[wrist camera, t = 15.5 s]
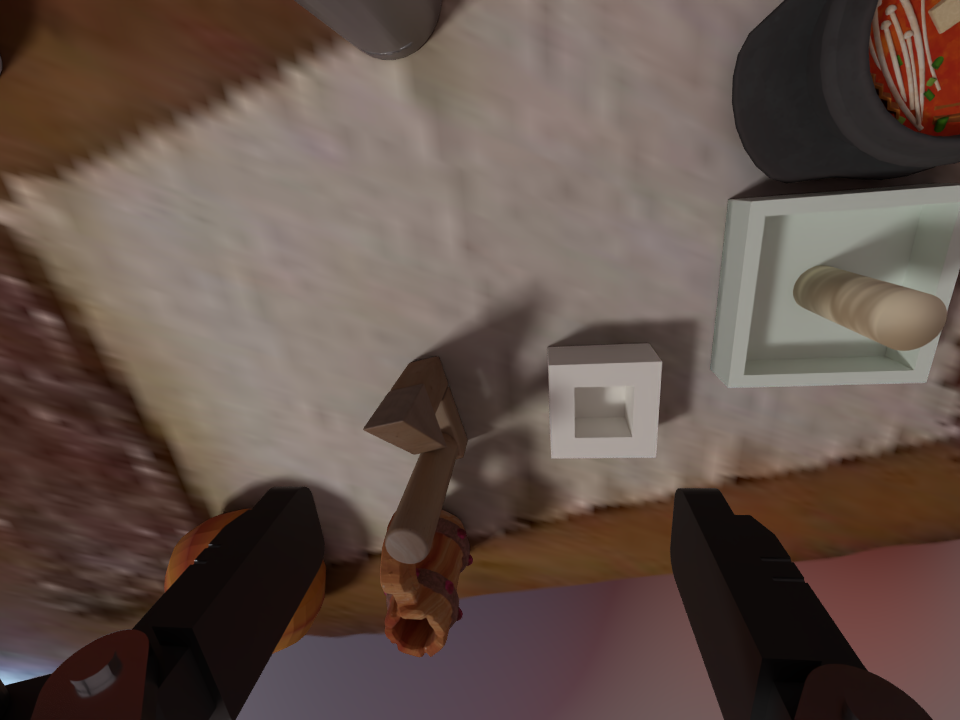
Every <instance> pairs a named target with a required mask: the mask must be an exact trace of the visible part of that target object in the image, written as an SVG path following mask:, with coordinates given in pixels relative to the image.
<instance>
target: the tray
mask: <svg viewBox="0 0 960 720" xmlns="http://www.w3.org/2000/svg"><path fill="white" fill-rule="evenodd" d="M820 265H826V266H831V267H835V268H838V269H842V270H845V271H849V272H853V273H856V274H860V275H863V276H867V277H871V278H874V279H878V280H881V281H885V282H889V283H892V284H896V285H899V286H903V287H907V288H910V289H914V290H917V291H921V292H925V293H928V294H932V295H934V296H936V297H938V298H939V299H941V300H942V301H943V303H944V304H945V306H946V309H947V310H948V307H949V304H950V300H951V297H952V293H953V290H954V287H955V283H956V280H957V276H958V273H959V270H960V183H931V184H918V185H905V186H893V187H880V188H867V189H855V190H842V191H829V192H817V193H804V194H791V195H778V196H766V197H753V198H740V199H728V207H727V216H726V225H725V235H724V244H723V253H722V263H721V272H720V282H719V291H718V300H717V310H716V319H715V329H714V338H713V347H712V357H711V366H710V369H711V370H712V371H713V373H714V374H715V375H716V376H717V377H718V378H719V379H720V380H721V381H722V382H723V383H724V384H725V385H726V386H727V387H728V388H746V387H784V386H822V385H859V384H897V383H926V382H927V378H928V375H929V372H930V368H931V365H932V361H933V358H934V355H935V351H936V348H937V344H938V341H939V338H940V334H941V332H940V333H939V335H938V336H937V337H936V338H935V339H933V340H932V341H931V342H929V343H928V344H926V345H924V346H922V347H920V348H917V349H914V350H909V351H899V350H894V349H891V348H889V347H887V346H884V345H882V344H880V343H878V342H876V341H874V340H871V339H869V338H867V337H865V336H863V335H861V334H859V333H856V332H854V331H852V330H850V329H848V328H846V327H843V326H841V325H839V324H837V323H835V322H833V321H830V320H828V319H826V318H824V317H822V316H820V315H817V314H815V313H813V312H811V311H809V310H807V309H804V308H802V307H801V306H799V305H798V304H797V303H796V301H795V299H794V296H793V288H794V285H795V283H796V281H797V279H798V278H799V277H800V275H801V274H803V273H804V272H805V271H807V270H808V269H810V268H812V267H815V266H820Z"/></svg>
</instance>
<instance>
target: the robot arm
mask: <svg viewBox="0 0 960 720" xmlns="http://www.w3.org/2000/svg"><path fill="white" fill-rule="evenodd" d="M294 1H296V2H297V3H298V4H300V5H301V6H302V7H304V8H305V9H306V10H308V11H309V12H310V13H312V14H313V15H314V16H316V17H317V18H318V19H320V20H321V21H322V22H324V23H325V24H326V25H328V26H329V27H330V28H332V29H333V30H334V31H336V32H337V33H338V34H339V35H341V36H342V37H343V38H345V39H346V40H347V41H349V42H350V43H351V44H353V45H354V46H355V47H357V48H358V49H359V50H361V51H362V52H364V53H366V54H368V55H370V56H371V57H374V58H378V59H382V60H396V59H400V58H404V57H406V56H408V55H410V54H412V53H414V52H416V51H417V50H418V49H419V48H420V47H421V46H422V45H423V44H424V43H425V42H426V41H427V39H428V38H429V37H430V35H431V34H432V32H433V30H434V28H435V25H436V23H437V21H438V17H439V13H440V9H441V2H442V0H294ZM208 545H209V546H208V548H205V549H204V550H203V551H202V552H201V553H200V554H199V555H198V557H197V558H196V559H195V560H194V564H193V565H192V564H190V565H189V567H188V568H187V569H186V570H185V571H184V572H183V573H182V574H181V575H180V577H179V578H178V579H177V580H176V581H175V582H174V583H173V584H172V585H171V587H170V588H169V589H168V590H167V591H166V592H165V593H164V594H163V595H162V597H161V598H160V599H159V600H158V601H157V602H156V603H155V604H154V605H153V607H152V608H151V609H150V610H149V611H148V612H147V613H146V614H145V615H144V617H143V618H142V619H141V620H140V621H139V622H138V623H137V624H136V625H135V627H134V628H133V629H127V630H120V631H117V632H113V633H110V634H107V635H105V636H102V637H100V638H98V639H96V640H94V641H92V642H91V643H89V644H87V645H85V646H84V647H82V648H81V649H79V650H78V651H76V652H75V653H74V654H73V655H71V656H70V657H69V658H67V659H66V660H65V661H64V662H63V663H62V664H61V665H60V666H59V667H58V668H57V669H56V670H55V671H54V672H53V673H52V674H49V675H45V676H41V677H37V678H33V679H29V680H25V681H21V682H17V683H13V684H9V685H5V686H4V684H3V683H2V681H1V680H0V720H236V718H237V716H238V714H239V713H240V711H241V709H242V707H243V705H244V704H245V702H246V700H247V698H248V696H249V695H250V693H251V691H252V689H253V688H254V686H255V684H256V682H257V680H258V679H259V677H260V675H261V673H262V671H263V670H264V668H265V666H266V664H267V662H268V661H269V659H270V657H271V655H272V653H273V652H274V650H275V648H276V646H277V644H278V643H279V641H280V639H281V637H282V635H283V634H284V632H285V630H286V628H287V626H288V625H289V623H290V621H291V619H292V617H293V616H294V614H295V612H296V610H297V608H298V607H299V605H300V603H301V601H302V599H303V598H304V596H305V594H306V592H307V590H308V589H309V587H310V585H311V583H312V581H313V580H314V578H315V576H316V574H317V572H318V571H319V569H320V566H321V564H322V561H323V556H324V538H323V534H322V530H321V526H320V522H319V518H318V515H317V511H316V507H315V503H314V499H313V496H312V493H311V491H310V489H309V488H307V487H273V488H271V489H270V490H269V491H268V492H267V493H266V494H265V495H264V496H263V497H262V498H261V500H260V501H259V502H258V503H257V504H256V505H255V507H254V508H253V509H252V510H247V511H246V512H244V513H243V514H241V515H240V516H238V517H237V518H235V519H234V520H233V521H231V522H230V523H228V524H227V525H225V527H224V528H223V529H222V530H221V531H220V532H219V533H218V534H217V535H216V537H215V538H214V539H213V540H212V541H211V542H210V543H209V544H208ZM670 554H671V564H672V570H673V574H674V578H675V581H676V584H677V587H678V590H679V592H680V596H681V598H682V601H683V604H684V607H685V610H686V613H687V615H688V618H689V621H690V624H691V627H692V630H693V633H694V635H695V638H696V641H697V644H698V647H699V650H700V652H701V655H702V658H703V661H704V664H705V667H706V669H707V672H708V675H709V678H710V681H711V684H712V687H713V689H714V692H715V695H716V698H717V701H718V703H719V707H720V709H721V712H722V715H723V718H724V720H933V719H932V718H931V717H930V716H929V715H928V713H927V712H926V711H925V710H924V709H923V708H922V707H921V706H920V705H919V704H918V703H917V702H916V701H915V700H914V699H912V698H911V697H910V696H908V695H907V694H906V693H905V692H904V691H902V690H901V689H899V688H898V687H896V686H895V685H893V684H892V683H890V682H889V681H887V680H885V679H883V678H881V677H880V676H878V675H875V674H873V673H871V672H869V671H868V670H867V669H866V668H865V666H864V665H863V664H862V662H861V661H860V659H859V658H858V657H857V655H856V654H855V652H854V651H853V649H852V648H851V646H850V645H849V643H848V642H847V640H846V639H845V638H844V636H843V634H842V633H841V632H840V630H839V629H838V627H837V626H836V624H835V623H834V621H833V620H832V618H831V617H830V615H829V614H828V612H827V611H826V609H825V608H824V606H823V605H822V604H821V602H820V600H819V599H818V598H817V596H816V595H815V593H814V592H813V590H812V589H811V587H810V586H809V584H808V583H805V581H804V577H803V576H802V574H801V573H800V571H799V570H798V568H797V567H796V565H795V564H794V562H791V560H790V556H789V555H788V553H787V552H786V550H785V549H784V547H783V546H782V545H781V543H780V542H779V540H778V539H777V537H776V536H775V534H773V533H772V532H771V531H770V530H768V529H767V528H766V527H764V526H763V525H762V524H761V523H759V522H758V521H757V520H756V519H754V518H753V517H752V516H751V515H734V513H733V512H732V510H731V508H730V507H729V505H728V503H727V502H726V500H725V498H724V497H723V495H722V493H721V492H720V491H719V490H718V489H715V488H678V489H677V490H676V493H675V499H674V511H673V522H672V534H671V546H670Z"/></svg>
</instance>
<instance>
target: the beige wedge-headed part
mask: <svg viewBox="0 0 960 720" xmlns="http://www.w3.org/2000/svg"><path fill="white" fill-rule="evenodd" d="M447 386H448V381H447V378H446V376H445V373H444V370H443V367H442V364H441V361H440V358H439V357H436V356H435V357H431V358H427V359H423V360H419V361H415V362H411V363H409V364H408V366H407V367H406V368H405V370H404V371H403V373H402V374H401V376H400V377H399V378H398V380H397V381H396V383H395V384H394V386H393V387H392V389H391V391H390V392H388V394H387V395H386V397H385V398H384V400H383V401H382V402H381V404H380V405H379V407H378V408H377V410H376V411H375V412H374V414H373V415H372V417H371V418H370V420H369V421H368V423H367V424H366V425H365V427H364V428H363V430H364V431H366V432H368V433H371V434H373V435H375V436H377V437H379V438H381V439H383V440H385V441H387V442H389V443H391V444H393V445H395V446H397V447H399V448H402V449H404V450H406V451H408V452H410V453H412V454H419V453H421V454H420V456H419V458H418V461H417V463H416V466H415V468H414V470H413V473H412V475H411V477H410V480H409V482H408V485H407V487H406V489H405V492H404V494H403V496H402V499H401V501H400V503H399V506H398V508H397V511H396V513H395V515H394V518H393V520H392V522H391V525H390V527H389V530H388V532H387V534H386V537H385V546H386V550H387V552H388V553H389V555H390V556H391V557H393V558H394V559H395V560H397V561H399V562H402V563H406V564H415V563H418V562H421V561H422V560H423V559H425V558H426V557H427V555H428V554H429V552H430V548H431V545H432V541H433V538H434V534H435V531H436V527H437V524H438V520H439V517H440V513H441V510H442V506H443V503H444V499H445V496H446V492H447V489H448V485H449V482H450V478H451V475H452V471H453V468H454V464H455V461H456V459H459V458H463V457H464V453H465V449H466V445H467V442H468V440H467V437H466V434H465V431H464V428H463V425H462V422H461V419H460V416H459V413H458V411H457V408H456V405H455V402H454V399H453V396H452V393H451V390H450V388H449V387H447Z"/></svg>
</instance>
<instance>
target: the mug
mask: <svg viewBox="0 0 960 720" xmlns="http://www.w3.org/2000/svg"><path fill="white" fill-rule="evenodd" d="M395 513H396V512H395ZM395 513H394V514H393V516H392V518H391V520H390V522H389V525H388V527H387V532H388V530H389V527H390V525H391V522H392V520H393V518H394V515H395ZM386 534H387V533H386ZM385 537H386V536H385ZM472 562H473V558H472V556H471V555H470V544H469V540H468V538H467V535H466V531H465V529H464V527H463V524H462V522H461V521H460V520H459V519H458V518H457V517H456V516H454V515H452V514H450V513H449V512H446V511H444V510H441V513H440V517H439V520H438V524H437V527H436V531H435V534H434V538H433V541H432V545H431V548H430V552H429V554H428V555H427V557H426V558H425V559H423V560H422V561H421V562H418V563H415V564H406V563H402V562H399V561H397V560H395V559H394V558H393V557H391V556H390V555H389V553H388V552H387V550H386V546H385V539H384V543H383V547H382V556H381V567H380V579H381V586H382V588H383V591H384V594H385V595H386V596H387V608H388V612H387V615H386V618H385V625H386V627H385V634H386V636H387V637H388V639H390V640H391V642H392V643H396V644H397V646H398V650H399V651H401V652H403V653H406V654H409V655H413V656H417V657H422V656H423V655H424V653H427V654H428V655H429V656H430V657H431V656H433V655H434V654H435V653H437V652H438V651H440V650H441V649H442V648H443V646H444V645H445V643H446V640H447V636H448V631H449V629H450V628H451V627H452V625H453V624H454V623H455V622H456V621H458V620H460V619H461V618H462V615H463V613H462V611H461V609H460V608H459V599H458V594H457V585H458V579H459V574H460V573H461V572H462V571H463V570H464V569H465V567H466V566H469V565H471V564H472Z"/></svg>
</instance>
